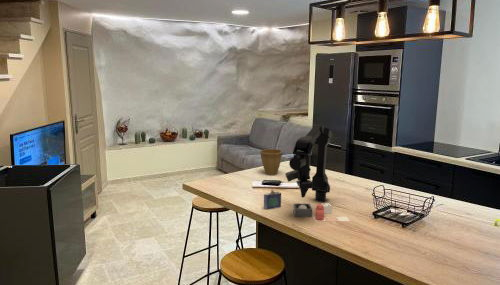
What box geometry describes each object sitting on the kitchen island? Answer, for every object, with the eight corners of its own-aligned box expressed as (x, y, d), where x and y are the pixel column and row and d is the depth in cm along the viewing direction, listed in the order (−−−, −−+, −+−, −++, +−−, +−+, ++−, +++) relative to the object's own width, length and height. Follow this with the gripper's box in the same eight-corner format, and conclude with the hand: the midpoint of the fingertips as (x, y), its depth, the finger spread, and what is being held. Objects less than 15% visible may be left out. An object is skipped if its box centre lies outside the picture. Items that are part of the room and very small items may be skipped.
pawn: (314, 217, 175) (315, 202, 174) (323, 217, 175) (323, 202, 174) (315, 220, 171) (316, 205, 170) (324, 220, 171) (325, 205, 170)
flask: (264, 212, 186) (264, 191, 184) (262, 210, 188) (262, 189, 187) (281, 210, 189) (282, 189, 187) (279, 208, 191) (279, 188, 189)
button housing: (293, 211, 184) (293, 203, 183) (309, 211, 184) (309, 203, 183) (295, 217, 176) (295, 209, 175) (312, 217, 176) (312, 209, 175)
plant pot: (271, 169, 266) (271, 148, 263) (286, 174, 254) (286, 151, 251) (255, 173, 256) (255, 150, 253) (270, 178, 245) (270, 154, 242)
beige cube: (320, 211, 184) (321, 203, 183) (328, 210, 184) (328, 202, 184) (323, 214, 180) (324, 206, 179) (331, 213, 180) (331, 205, 180)
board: (290, 213, 184) (291, 210, 184) (343, 213, 185) (343, 210, 184) (294, 224, 170) (294, 221, 170) (351, 224, 171) (351, 221, 171)
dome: (295, 211, 182) (296, 203, 181) (307, 211, 182) (307, 203, 182) (297, 216, 177) (297, 207, 176) (309, 215, 177) (309, 207, 176)
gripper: (284, 160, 184) (283, 191, 187) (289, 170, 166) (288, 203, 169) (307, 160, 184) (306, 191, 187) (313, 170, 166) (312, 203, 169)
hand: (302, 197), depth 178 cm, fingers closed
